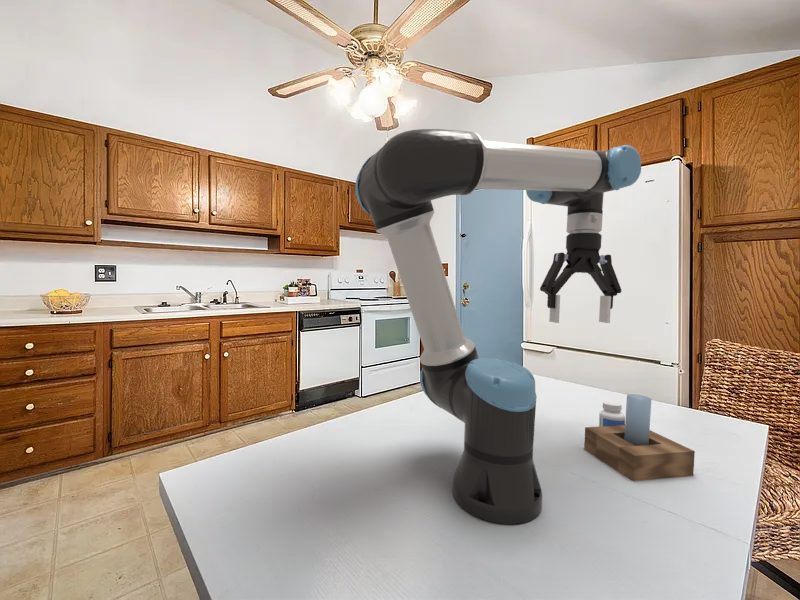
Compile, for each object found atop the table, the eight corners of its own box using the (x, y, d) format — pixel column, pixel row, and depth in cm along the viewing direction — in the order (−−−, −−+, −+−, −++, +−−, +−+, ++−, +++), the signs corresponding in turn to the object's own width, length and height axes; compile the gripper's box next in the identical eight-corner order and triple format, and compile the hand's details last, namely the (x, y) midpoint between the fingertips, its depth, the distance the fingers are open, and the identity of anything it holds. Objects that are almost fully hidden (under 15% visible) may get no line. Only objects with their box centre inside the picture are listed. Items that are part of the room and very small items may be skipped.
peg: (634, 467, 77) (638, 401, 76) (618, 457, 81) (622, 394, 81) (652, 465, 78) (656, 400, 77) (635, 455, 82) (639, 393, 81)
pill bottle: (630, 447, 87) (630, 406, 87) (609, 448, 86) (609, 406, 86) (613, 438, 93) (614, 399, 93) (594, 439, 92) (594, 400, 92)
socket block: (633, 480, 71) (634, 455, 71) (584, 448, 85) (585, 427, 85) (693, 475, 74) (694, 451, 74) (636, 444, 88) (637, 424, 88)
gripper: (545, 228, 82) (541, 324, 83) (641, 234, 87) (636, 324, 88) (527, 233, 89) (523, 320, 90) (617, 237, 94) (612, 320, 95)
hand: (579, 322), depth 89 cm, fingers open, 13 cm apart
